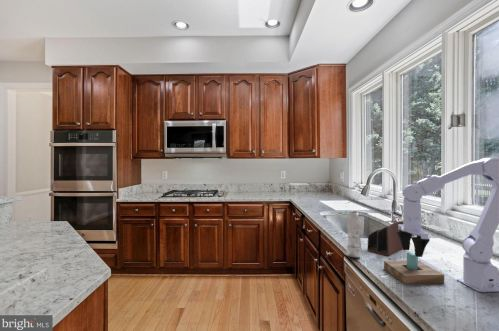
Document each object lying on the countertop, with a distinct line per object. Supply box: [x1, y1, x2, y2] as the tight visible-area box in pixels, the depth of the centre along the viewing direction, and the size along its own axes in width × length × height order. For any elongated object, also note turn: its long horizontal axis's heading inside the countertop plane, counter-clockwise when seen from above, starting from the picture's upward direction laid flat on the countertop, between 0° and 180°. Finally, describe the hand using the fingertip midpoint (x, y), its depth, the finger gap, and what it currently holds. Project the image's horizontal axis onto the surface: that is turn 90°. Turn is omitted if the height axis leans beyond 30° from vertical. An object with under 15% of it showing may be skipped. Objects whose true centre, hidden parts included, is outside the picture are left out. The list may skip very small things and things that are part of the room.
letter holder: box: [367, 220, 403, 257], centre depth 134 cm, size 10×20×14 cm, turn 130°
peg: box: [406, 252, 419, 270], centre depth 103 cm, size 4×4×8 cm
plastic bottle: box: [346, 211, 363, 259], centre depth 124 cm, size 6×7×20 cm
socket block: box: [383, 260, 445, 285], centre depth 103 cm, size 14×14×3 cm
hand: (412, 253), depth 103 cm, fingers open, 7 cm apart
